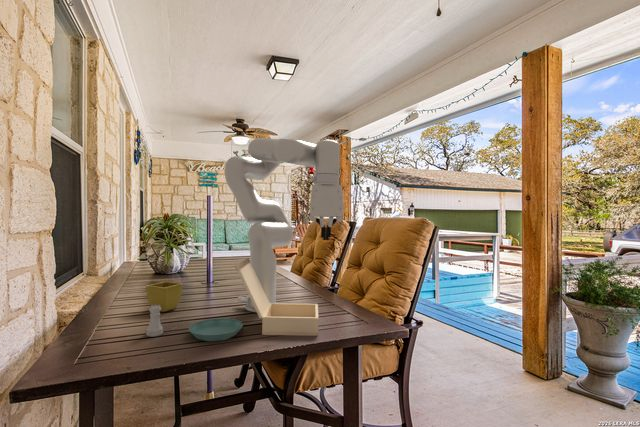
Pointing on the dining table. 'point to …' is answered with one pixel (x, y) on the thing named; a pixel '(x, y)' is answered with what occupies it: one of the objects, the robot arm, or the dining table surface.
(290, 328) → the cream open box
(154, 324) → the rook chess piece
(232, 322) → the saucer
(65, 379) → the dining table surface
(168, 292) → the flower pot
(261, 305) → the box lid
